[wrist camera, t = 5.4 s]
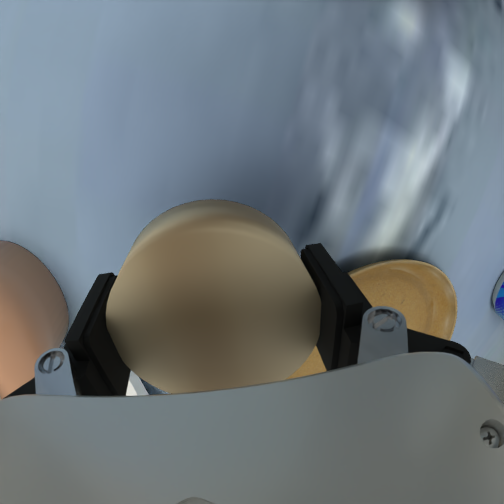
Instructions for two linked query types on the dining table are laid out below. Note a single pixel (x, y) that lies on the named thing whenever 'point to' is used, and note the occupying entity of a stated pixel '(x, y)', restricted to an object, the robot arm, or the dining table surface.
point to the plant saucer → (403, 299)
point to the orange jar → (27, 315)
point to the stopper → (213, 300)
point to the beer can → (499, 297)
